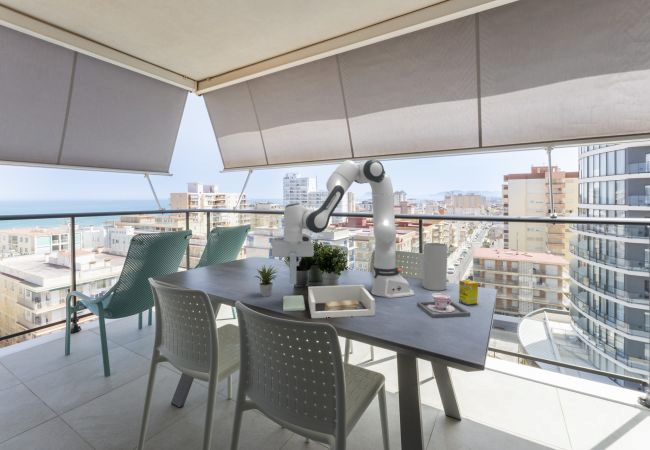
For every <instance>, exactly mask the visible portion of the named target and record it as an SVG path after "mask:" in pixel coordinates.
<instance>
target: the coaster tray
mask: <svg viewBox="0 0 650 450" xmlns="http://www.w3.org/2000/svg"><path fill="white" fill-rule="evenodd" d="M449 302H450V301H448V302H447V305H448V304H449ZM428 305H435V300H432V301H417V302H416V306H417V307H418V308H419V309H421V310H422V311H424V312H425V313H426V314H427V315H428V316H429V317H431V318H432V319H436V318H437V319H440V318H443V319H444V318H458V317H461V318H462V317H471V312H469V311H468V310H467V309H465V308H463V307H461V306H460V305H458V304H456V303H455V302H454V301H452V300H451V303H450V306H452V307H454V308H455V310H457V311H459V312H448V313H442V312H436V313H434V312H433V311H432V310H430V309H428V307H427V306H428Z"/></svg>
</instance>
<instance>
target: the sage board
mask: <svg viewBox="0 0 650 450" xmlns="http://www.w3.org/2000/svg"><path fill="white" fill-rule="evenodd" d="M282 301H283V303H282V304H283V305H282V312H292V311H293V312H294V311H295V312H297V311H306V306H305V298H304V295H303V294H302V295H283V299H282Z"/></svg>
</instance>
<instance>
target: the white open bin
mask: <svg viewBox="0 0 650 450" xmlns="http://www.w3.org/2000/svg"><path fill="white" fill-rule="evenodd" d="M307 290H308V291H307V292H308V293H307V295H308V296H307V297H308V298H307V299H308V300H307V301H308V306H309V313H310V316H311V319H326V317H327V319H329V318H328V317H330V318H344V317H345V318H350V317H351V316H353V317H369V316H370V317H373V316H374V315H376V313H375V311H376V299H375V298H374V297H373V296H372V294H370V292H369V291H368V289H366V288H365V285H364V284H349V285H348V284H346V285H344V284H343V285H321V286H320V285H319V286H318V285H317V286H308V289H307ZM347 300H356V301H357V302H358V303H362V305H363V306H364V309H358V310H339V311H325V310H321V311H320V310H319V311H317V310H316V304H325V302H334V301H347Z"/></svg>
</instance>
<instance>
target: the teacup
mask: <svg viewBox="0 0 650 450" xmlns="http://www.w3.org/2000/svg"><path fill="white" fill-rule="evenodd" d="M431 297H432V298H433V301H435V305H427V309H429V310H430V311H431V312H436V313H454V312H455V311H456V308H454V307H453V306H451V305H450V303H451V301H452V299H450V298H451V296H450V295H448V294H446V293H440V292H439V293H432V294H431ZM448 301H450V302H449V304H448V305H447V302H448Z"/></svg>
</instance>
